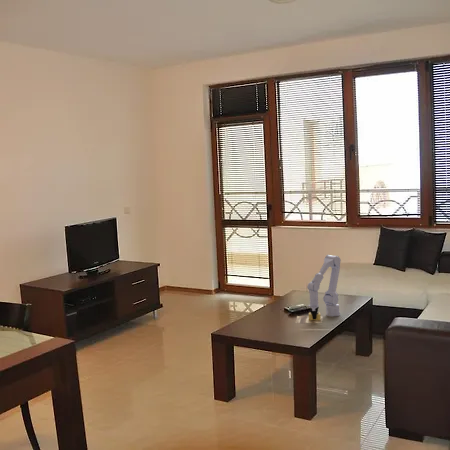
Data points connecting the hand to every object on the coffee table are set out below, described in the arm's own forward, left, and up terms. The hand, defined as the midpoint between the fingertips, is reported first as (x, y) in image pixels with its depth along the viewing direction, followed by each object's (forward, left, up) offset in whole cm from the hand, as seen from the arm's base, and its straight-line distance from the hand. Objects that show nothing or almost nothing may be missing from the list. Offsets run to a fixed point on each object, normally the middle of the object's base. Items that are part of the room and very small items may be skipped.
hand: (314, 318), depth 386 cm
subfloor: (+4, 0, -2) cm, 4 cm away
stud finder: (0, 0, -1) cm, 1 cm away
